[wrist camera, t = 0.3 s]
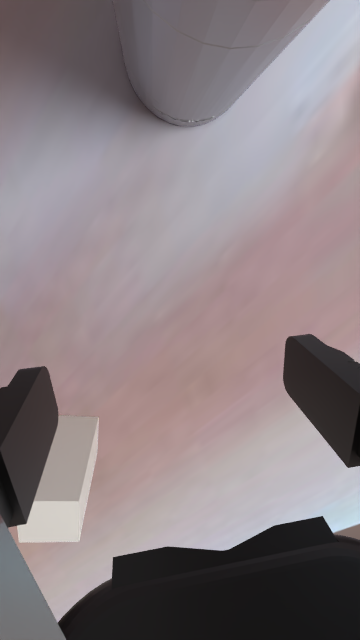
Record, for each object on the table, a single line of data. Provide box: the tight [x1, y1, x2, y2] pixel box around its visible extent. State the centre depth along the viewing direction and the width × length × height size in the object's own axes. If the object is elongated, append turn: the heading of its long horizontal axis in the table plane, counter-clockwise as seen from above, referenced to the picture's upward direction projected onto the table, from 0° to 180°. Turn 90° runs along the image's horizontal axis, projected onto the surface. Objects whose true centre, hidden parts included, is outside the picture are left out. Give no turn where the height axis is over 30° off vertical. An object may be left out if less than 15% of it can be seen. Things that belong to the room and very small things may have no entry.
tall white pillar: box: [17, 415, 99, 542], centre depth 30 cm, size 5×5×10 cm
